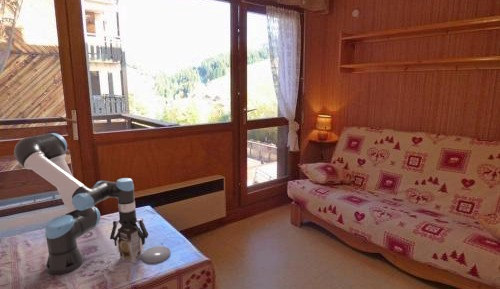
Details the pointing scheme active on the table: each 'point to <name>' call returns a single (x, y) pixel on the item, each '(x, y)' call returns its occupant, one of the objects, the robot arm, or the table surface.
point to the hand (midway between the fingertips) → (130, 250)
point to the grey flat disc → (155, 254)
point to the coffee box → (129, 244)
